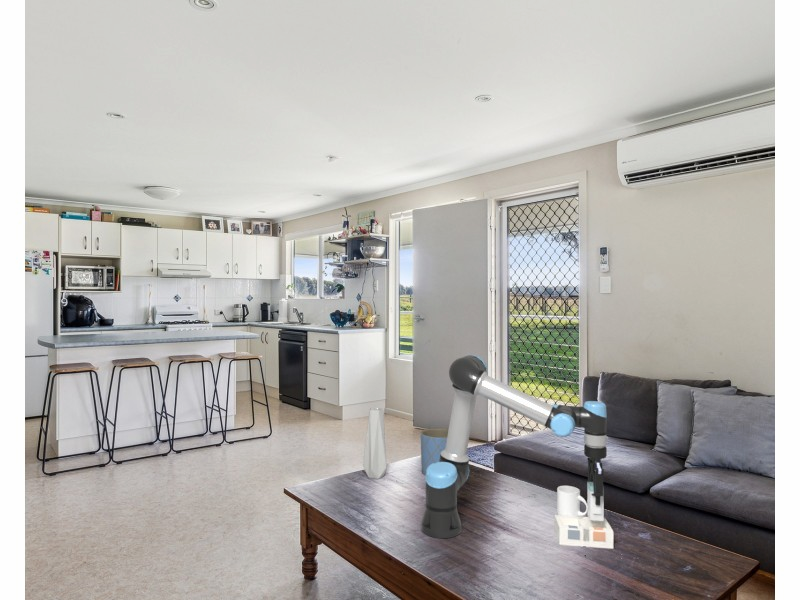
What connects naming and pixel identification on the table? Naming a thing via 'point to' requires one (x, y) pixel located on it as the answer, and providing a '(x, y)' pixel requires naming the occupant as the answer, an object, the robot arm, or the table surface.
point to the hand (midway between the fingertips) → (595, 510)
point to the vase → (375, 445)
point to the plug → (590, 504)
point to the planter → (432, 446)
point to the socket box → (583, 532)
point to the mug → (569, 501)
